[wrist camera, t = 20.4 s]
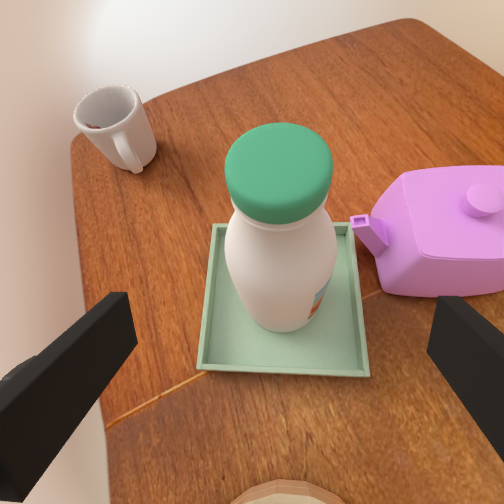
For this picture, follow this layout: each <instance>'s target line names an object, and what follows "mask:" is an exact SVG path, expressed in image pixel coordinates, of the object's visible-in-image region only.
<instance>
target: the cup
mask: <svg viewBox="0 0 504 504" xmlns="http://www.w3.org/2000/svg"><path fill="white" fill-rule="evenodd" d="M74 121H75V123H76V125H77V127H78V128H79V129H80V130H81V131H82V132H83V133H84V134H85V135H86V136H87V137H88V139H89V140H90V141H91V142H92V143H93V144H94V145H95V146H96V147H97V148H98V149H99V150H100V151H101V152H102V153H103V154H104V155H105V156H106V157H107V158H108V159H109V160H110V161H111V162H112V163H113V164H114V165H116V166H117V167H119V168H121V169H124V170H131V172H133V173H134V174H137V173H140V172H142V171H143V167H144V166H146V165H147V164H148V163H149V162H150V161H151V160H152V159H153V158H154V156H155V154H156V149H157V145H156V140H155V137H154V134H153V132H152V129H151V126H150V124H149V121H148V118H147V116H146V113H145V111H144V108H143V105H142V103H141V100H140V97H139V96H138V94H137V93H136V92H135V91H134V90H133V89H132V88H130V87H128V86H125V85H108V86H103V87H100V88H98V89H96V90H93V91H92V92H90V93H89V94H87V95H86V96H85V97H84V98H83V99H81V100H80V102H79V103H78V104H77V106H76V108H75V111H74Z"/></svg>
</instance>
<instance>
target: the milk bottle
mask: <svg viewBox="0 0 504 504" xmlns="http://www.w3.org/2000/svg"><path fill="white" fill-rule="evenodd" d="M332 173H333V160H332V155H331V151H330V149H329V147H328V145H327V144H326V142H325V141H324V140H323V139H322V138H321V137H320V136H319V135H318V134H317V133H315V132H314V131H312V130H310V129H308V128H306V127H304V126H301V125H297V124H292V123H271V124H266V125H262V126H259V127H256V128H254V129H252V130H250V131H248V132H246V133H245V134H243V135H242V136H241V137H239V138H238V139H237V140H236V141H235V142H234V144H233V145H232V146H231V148H230V150H229V152H228V154H227V157H226V161H225V179H226V184H227V188H228V191H229V193H230V196H231V201H232V205H233V207H234V209H235V212H234V214H233V216H232V217H231V220H230V222H229V224H228V227H227V231H226V235H225V248H224V250H225V258H226V264H227V267H228V270H229V273H230V276H231V279H232V281H233V283H234V285H235V288H236V290H237V292H238V294H239V296H240V299H241V301H242V303H243V305H244V307H245V309H246V311H247V313H248V314H249V316H250V317H251V318H252V320H253V321H254V322H255V323H256V324H258V325H259V326H261V327H262V328H264V329H266V330H269V331H272V332H277V333H287V332H292V331H295V330H298V329H300V328H302V327H303V326H305V325H306V324H307V323H308V322H309V321H310V320H311V319H312V318H313V316H314V315H315V313H316V311H317V309H318V307H319V305H320V302H321V300H322V298H323V296H324V293H325V291H326V288H327V286H328V284H329V281H330V279H331V276H332V273H333V269H334V266H335V263H336V256H337V239H336V233H335V229H334V226H333V223H332V221H331V219H330V217H329V215H328V213H327V212H326V210H325V209H324V205H325V203H326V200H327V196H328V190H329V187H330V184H331V179H332Z"/></svg>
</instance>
